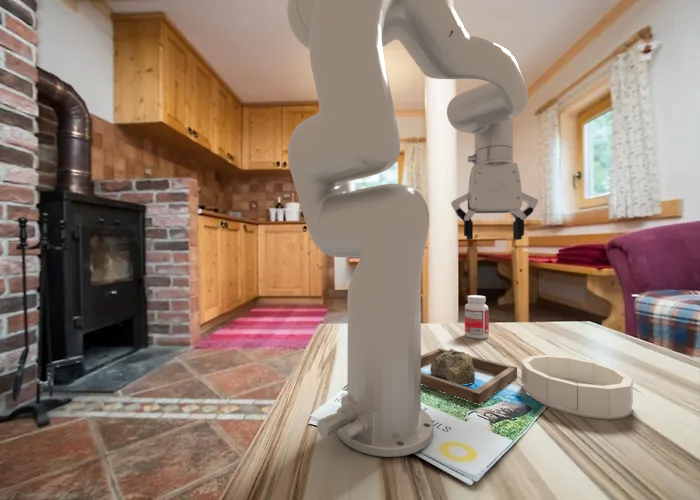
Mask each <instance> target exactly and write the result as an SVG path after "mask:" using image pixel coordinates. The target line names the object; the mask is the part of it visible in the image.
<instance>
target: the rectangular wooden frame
mask: <svg viewBox="0 0 700 500" xmlns="http://www.w3.org/2000/svg"><path fill="white" fill-rule="evenodd" d="M445 351H449V349H448V350H447V349H443V348H437V349H435V350H432V351H429V352H427V353H425V354H421V368H423V367H425V366H428V365H431V364H432V363H433V361H434V360H435V358H436V357H437V356H438V355H439V354H442V353H444V352H445ZM470 357H472V363H473V366H474V369H478V370H483V371H485V372H489V373H493V374H497V375H496V376H494V377H493V378H491V379H490V380H487V382H485V383H484V384H482V385H481V386H479V387H477V388H476V389H475V388H471V387H468V386H467V385H459V384H456V383H453V382H451V381H449V380H448V379H443V378H442V377H436V376H435V375H431V374H428V373H424V372H421V384H423V385H426V386H428V387H430V388H432V389H431V390H433V389H435V390H434V391H436V390H439V391H441V392H440V393H442V392H445V393H447V394H450V395H453V396H456V397H459V398H462V399H465V400H468V401H471V402H473V403H477V404H481V403H482V402H484V401H485V400H486V399H488V398H489V397H490V396H492V395H493V394H494V393H495V392H497V391H498V390H499V391H501V390H502V389H503V388H505V387H506V386H507V385H509V384H510V383H511V382H513V381H514V380H515V379H517V378H518V367H517V366H514V365H513V366H512V365H510V364H509V365H508V364H505V363H500V362H497V361H492V360H489V359H483V358H482V357H481V358H480V357H476V356H473V355H470ZM506 384H507V385H506ZM505 385H506V386H505ZM504 386H505V387H504ZM502 387H503V388H502ZM430 388H429V389H430ZM501 388H502V389H501ZM500 389H501V390H500ZM439 391H438V392H439ZM499 391H498V392H499ZM498 392H497V393H498ZM447 394H446V395H447ZM450 395H449V396H450ZM494 395H495V394H494ZM494 395H493V396H494ZM453 396H452V397H453ZM493 396H492V397H493ZM456 397H455V398H456ZM490 398H491V397H490ZM490 398H489V399H490ZM489 399H488V400H489ZM486 401H487V400H486ZM486 401H485V402H486ZM485 402H484V403H485ZM473 403H472V404H473ZM482 404H483V403H482ZM482 404H481V405H482Z"/></svg>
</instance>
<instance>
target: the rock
mask: <svg viewBox="0 0 700 500" xmlns="http://www.w3.org/2000/svg"><path fill="white" fill-rule="evenodd" d="M470 356H471V355H470V354H469V353H466V352H464V351H458V350H455V349H453V348H450V349H448V351H445V352H444V353H442V354H439V355H438V356H437V357H436V358H435V360H434V361H433V362H432V363H430V369H429V370H430V373H431V374H432V376H434V377H436V376H438V378H445V379H446V380H447V381H450V382H453V383H456V384H459V385H461V384H469V383H473V382H474V383H475V379H476V372H475V368H474V366H473V363H472V357H470ZM474 383H473V384H474Z"/></svg>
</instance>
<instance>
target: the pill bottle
mask: <svg viewBox="0 0 700 500" xmlns="http://www.w3.org/2000/svg"><path fill="white" fill-rule="evenodd" d="M486 297H487V296H484V295H477V294H474V295H470V294H469V295H467V303H466V304H465V305H464V335H465V336H466V337H468V338H471V339H477V340H478V339H487V338H489V336H490V334H489V333H490V323H489V321H490V317H489V316H490V315H489V314H490V313H489V312H490V311H489V306H488V305H487V304H486V301H487V300H486V299H487V298H486Z"/></svg>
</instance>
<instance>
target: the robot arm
mask: <svg viewBox="0 0 700 500" xmlns="http://www.w3.org/2000/svg"><path fill="white" fill-rule="evenodd" d="M286 6H287V9H286V11H287V18H288V24H289V26H290V30H291V31H292V33H293V34H294V36H295V38H296V39H297V40H298V41H299V43H300V44H302V45H303V46H304V47H305V48H306V49H308V50H309V59H310V60H309V62H310V67H311V71H312V72H311V73H312V76H313V80H314V87H315V90H316V95H317V100H318V105H319V106H318V107H319V111H318V112H317V113H315V114H313V115H312V116H309V117H308V118H306V119H304V120H303V121H301V122H300V123H299V124H298V125H297V126H296V127H295V128H294V130H293V131H292V133H291V135H290V138H289V141H288V147H287V160H288V165H289V166H288V167H289V170H290V174H291V177H292V181H293V184H294V188H295V191H296V194H297V197H298V201H299V202H298V203H299V204H300V207H301V211H302V214H303V219H304V220H305V224H306V227H307V231H308V233H309V236H310V238H311V240H312V241H313V243H314V244H315V246H316V247H317V249H318V250H320V252H322V253H324V254H325V255H327V256H330V257H333V258H346V259H348V258H349V259H351V258H352V259H353V258H354V259H356V258H357V259H358V258H359V259H358V262H357V264H356V267H355V269H354V271H353V273H352V274H351V277H350V281H349V284H348V290H347V301H346V302H347V303H346V304H347V305H346V306H347V376H346V377H347V382H346V383H347V394H346V395H344V396H342V397H340V399H341V403H340V404H341V407H339V408H337V410H336V412H335V413H333V414H330V415H327V416H325V417H323V418H321V419H319V420H318V421H317V423H316V425H317V426H316V427H317V431H318V434H319V435H320V436H321V437H322V438H324V439H325V438H328V437H330V436H331V435H333V434H335V433H336V435H337V436H338V438H339V439H340V440H341V441H342V442H343V443H345V445H347V446H348V447H350V448H352V449H353V450H355V451H358V452H360V453H363V454H365V455H366V454H367V455H370V456H376V457H383V458H391V457H392V458H396V457H404V456H408V455H412V454H415V453H417V452H419V450H420V451H422V450H423V449H424V448H426V447H427V446H428V445H429V444H430V443H431V441H432V440H433V437H434V422H433V420H432V418H431V416H430V415H429V414H428V412H426V410H424V409H423V408H422V407H421V406H422V403H421V401H422V399H421V398H422V390H421V389H422V385H421V371H422V370H421V369H422V367H421V355H422V303H421V301H422V298H421V297H422V273H423V272H422V271H423V264H424V263H423V262H424V255H425V248H426V244H427V240H428V239H427V238H428V235H429V228H430V212H429V208H428V204H427V201H426V200H425V198H424V197H423V195H422V194H421V193H420V192H419V191H418V190H416V189H415V188H414V187H411V186H409V185H405V184H401V183H385V184H379V185H375V186H367V187H364V188H357V189H355V190H351V189H350V185H349V182H351V181H356V180H360V179H364V178H367V177H372V176H376V175H379V174H380V173H383V172H386V171H388V170H390V169H391V168H392V167H393V166H394V165H395V164H396V163H397V161H398V159H399V157H400V152H401V139H400V131H399V125H398V121H397V116H396V115H397V114H396V112H395V107H394V102H393V96H392V93H391V88H390V87H391V86H390V82H389V78H388V73H387V68H386V63H385V62H386V61H385V56H384V48H383V47H384V46H385V47H386V45H388V44H390V43H392V42H393V41H395V40H398V41H399V43H400V44H402V45H401V46H403V48H404V49H405V50H406V51H407V53H408V54H409V55H410V57H411V58H412V60H413V61H414V62H415V64H416V65H417V67H418V68H419V70H420V72H422V73H423V74H424V75H425V77H427V78H431V79H437V80H480V81H485V82H487V83H484V84H481V85H478V86H477V87H474V88H472V89H469V90H465V91H464V92H461V93H459V94H457V95H455V96H454V97H453V98H451V100H450V101H449V103H448V105H447V108H446V116H447V120H448V122H449V123H450V125H451V126H452V127H453V128H454V129H455V130H457V131H459V132H462V133H468V134H472V135H474V153H473V154H472V155H468V156H467V163H472V164H473V166H471V168H470V169H471V170H470V173H469V180H468V189H467V193H465V194H463V195H461V196H460V197H458V198H455V199H454V200H452V201H451V202H450V204H451V207H452V208H453V210H454V212H455V215H457V217H458V218H459V219H460V220H462V221H463V235H464V237H466V240H467V241H471V240H473V236H474V227H473V226H474V225H473V221H472V217H473V216H474V215H475V214H508V213H509V214H510V215H511V216H512V217H513V218H514V221H513V222H512V234H513V236H512V239H513V240H514V241H519V240H522V237H523V236H525V235H524V234H525V220H527V218H528V217H529V216H530V215H531V214H532V213H533V212H534V210H535V208H536V206H537V204H538V203H539V200H538V199H537V198H535V197H533V196H531V195H529V194H527V193H525V192H522V182H521V174H520V171H519V165H518V163H517V162H514V161H513V160H514V149H513V148H514V137H513V136H514V126H513V125H514V118H517V117H518V116H519V115H521V114H522V113H523V112H524V110H525V109H526V107H527V103H528V97H529V96H528V94H529V93H528V88H527V85H526V82H525V79H524V76H523V74H522V72H521V69H520V68H519V67H520V66H519V64H518V62H517V61H516V59H515V57H514V56H513V55H512V54H511V52H510V51H509V50H507V49H506V48H504V47H503V46H501V45H499V44H497V43H495V42H493V41H492V40H489V39H486V38H483V37H479V36H475V35H472V34H469V33H468V32H467V31H466V29H465V28H464V25H463V23H462V21H461V19H460V18H459V16H458V14H457V12H456V10H455V8H454V6H453V4H452V2H451V1H450V0H288V1H287V5H286ZM466 201H467V210H468V211H467V212H465V211H464V210H463V209H462V208H461V206H460V205H461V204H462V203H464V202H466ZM523 202H524V203H526V204H527V206H526V208H525V209H523V210H522V209H521V208H522V205H523ZM421 449H422V450H421Z"/></svg>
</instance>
